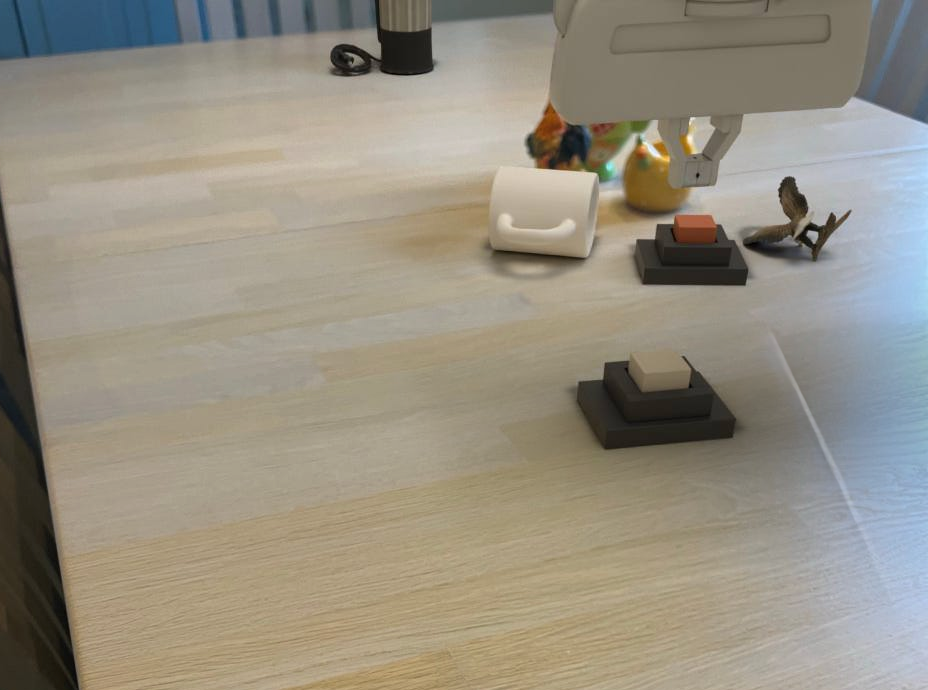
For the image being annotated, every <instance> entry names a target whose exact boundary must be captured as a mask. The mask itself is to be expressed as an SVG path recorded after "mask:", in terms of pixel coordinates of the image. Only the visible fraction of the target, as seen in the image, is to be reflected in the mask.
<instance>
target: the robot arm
mask: <svg viewBox="0 0 928 690" xmlns="http://www.w3.org/2000/svg"><path fill="white" fill-rule="evenodd" d="M552 1H553V3H552V5H553V6H552V19H553V23H554V26H555V29H556V30H557V32H556V37H555V42H554V49H553V54H552V61H551V70H550V77H549V90H548V97H549V102H550V105H551V106H552V108H553V110H554V111H555V112H556V114H557V115H558V116H559V117H560V118H561V119H562V120H564V122H566V123H567V124H569V125H571V126H583V125H584V126H585V125H599V124H613V123H626V122H627V123H628V122H629V123H630V122H644V121H656V120H657V127H656V129H657V132H658V134H659V137H660V139H661V141H662V143H663V146H664V148H665V150H666V153H667V155H668V156H669V162H668V172H667V183H668V185H669V186H670V187H671V188H672V189H674V190H675V189H676V190H678V189H689V188H704V187H715V186H716V185H717V182H718V177H719V169H720V163H721V160H723V158H724V157H725V156H726V154H727V153H728V151H729V150H730V148H732V146H733V144H734V142H735V141H736V140H737V138H738V137H739V136H740V134H741V133H742V126H743V120H744V115H750V114H751V115H753V114H765V113H766V114H767V113H783V112H795V111H798V112H799V111H813V110H825V109H826V110H828V109H829V110H831V109H841V108H843V107H845V106H846V105H847V104H848V103H849V101H850V100H851V99H852V98H853V96H855V94H856V93H857V92H858V90H859V87H860V85H861V81H862V78H863V74H864V69H865V64H866V59H867V54H868V50H869V49H868V47H869V42H870V36H871V27H872V18H873V0H552ZM705 117H710V118H709V124H710V125H711V126H712V127H714V128H715V129H714V130H713V131H712V134H711V135H710V137H709V139H708V140H707V142H706V144H705V146H704V147H703V149H702V151H701V152H699V153H690V154H689V153H686V151H685V149H684V146H683V143H682V141H681V138H680V136H682V137H683V136H687V135H688V134H689V128H690V123H691V122H690V121H691V119H693V118H705Z"/></svg>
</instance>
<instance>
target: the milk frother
mask: <svg viewBox="0 0 928 690" xmlns="http://www.w3.org/2000/svg"><path fill="white" fill-rule="evenodd" d="M374 9H375V11H374V12H375V24H376V35H377V37H376V38H377V41H378V43H379V44H380V59H379V58H377V57H375V56H373V55H372V54H371V53H369V52H368V51H367V50H365V49H363V48H360V47H359V46H357V45H354V44H350V43H341V44H336V45H335V46H333V48H332V49H331V50H330V55H329V59H330V62H331V64H332V65H333V66H334V67H335V68H337V69H338V70H340V71H341V72H342V73H343V74H349V73H353V74H362V73H366V72H368V71H369V70H371V67H372V63H373V62H372V61H375V62H378V63H380V65H379V69H380V70H381V71H383V72H385V73H391V74H398V75H399V74H400V75H413V74H423V73H427V72H429V71H432V70H433V69H434V68H435V65H434V63H433V61H434V60H433V38H432V37H433V36H432V35H433V32H432V29H433V28H432V27H433V25H432V24H433V22H432V21H433V0H374ZM349 54H352V55H355V56H356V57H359V58H360V59H362V61H363V63H362V64H359V65H354V62H355V57H354V56H350V55H349Z"/></svg>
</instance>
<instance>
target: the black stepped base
mask: <svg viewBox="0 0 928 690" xmlns="http://www.w3.org/2000/svg"><path fill="white" fill-rule="evenodd" d="M681 357H682V358H683V359H684V361H685V362H686V363H687V364H688V366H689V367H690V368H691V375H690V381H689V387H688V388H687V389H676V390H664V391H653V392H640V391H639V389H638V388H637V386H636V385H635V383H634V382H633V380H632V379H631V377H630V376H629V374H628V368H629V360H617V361H605V362H604V364H603V365H604V366H603V376H602V379H593V380H592V379H591V380H580V381H578V382H577V383H578V384H577V395H576V401H577V403H578V405H579V406H580V408H581V410H582V412H583V414H584V415H585V417H586V419H587V421H588V423H589V424H590V426H591V428H592V430H593V432H594V433H595V435H596V436H597V439H598V440H599V442H600V444H601V446H602V448H603V449H604V450H605V451H607V450H609V451H610V450H618V449H619V450H620V449H627V448H639V447H651V446H652V447H653V446H660V445H662V446H663V445H672V444H681V443H693V442H702V441H703V442H704V441H714V440H725V439H733V437H734V432H735V427H736V423H737V417H736V416H735V415H734V414H733V412H732V411H731V410H730V409H729V407H728V406H727V405H726V404H725V402H724V401H723V400H722V398H721V397H720V396H719V395H718V394H717V392H716V391H715V390H714V388H713V387H712V386H711V385H710V384H709V382H708V381H707V380H706V378H705V377H704V375H702V374H701V372H700V371H699V370H697V369H696V368H695V367H694V366H693V364H692V363H691V362H690V361H689V359H688V358H687V357H686V356H685V355H681Z"/></svg>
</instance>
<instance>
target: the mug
mask: <svg viewBox="0 0 928 690" xmlns="http://www.w3.org/2000/svg"><path fill="white" fill-rule="evenodd" d="M599 201H600V178H599V174H598V173H597V172H592V171H591V172H590V171H578V170H577V171H576V170H563V169H548V168H535V167H522V166H507V165H500V167H498V169H497V170H496V172H495V174H494V178H493V181H492V185H491V190H490V197H489V205H488V219H487V220H488V222H487V223H488V225H487V226H488V238H489V239H488V240H489V243H490V246H491V248H492V249H493V250H495V251H504V252H505V251H506V252H514V253H515V252H516V253H525V254H526V253H527V254H528V253H529V254H537V255H548V256H549V255H550V256H560V257H571V258H572V257H573V258H583V259H585V258H588V257H589V256H590V253H591V250H592V248H593V244H594V240H595V239H594V238H595V234H596V226H597V222H598V213H599Z"/></svg>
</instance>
